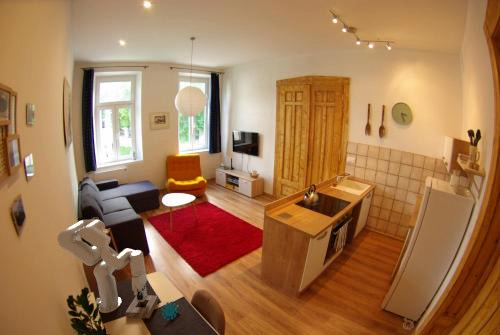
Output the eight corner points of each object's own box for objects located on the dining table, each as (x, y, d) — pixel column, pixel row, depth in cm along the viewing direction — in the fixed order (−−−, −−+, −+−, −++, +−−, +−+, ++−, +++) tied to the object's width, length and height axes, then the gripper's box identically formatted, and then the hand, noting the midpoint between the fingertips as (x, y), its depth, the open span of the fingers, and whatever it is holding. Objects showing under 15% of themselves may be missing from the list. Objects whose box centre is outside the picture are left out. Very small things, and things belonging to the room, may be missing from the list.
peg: (137, 301, 154) (135, 291, 152) (140, 296, 158) (139, 286, 157) (144, 301, 154) (143, 291, 152) (147, 296, 158) (146, 286, 156)
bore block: (126, 317, 151) (125, 312, 150) (137, 300, 165) (136, 295, 164) (149, 318, 151) (148, 312, 150) (158, 300, 165) (157, 295, 164)
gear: (164, 322, 146) (160, 305, 150) (161, 324, 149) (156, 307, 153) (182, 314, 154) (177, 297, 158) (178, 316, 157) (173, 300, 161)
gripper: (138, 262, 160) (142, 287, 164) (125, 280, 143) (129, 307, 148) (150, 262, 159) (153, 287, 164) (137, 280, 143) (141, 307, 147)
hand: (141, 296), depth 156 cm, fingers closed on peg, 4 cm apart
